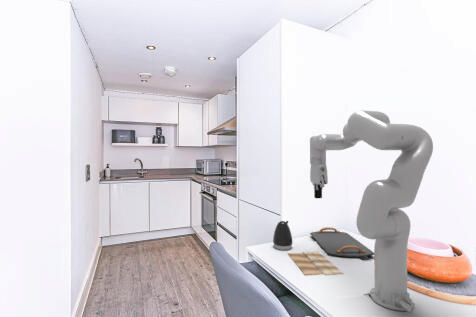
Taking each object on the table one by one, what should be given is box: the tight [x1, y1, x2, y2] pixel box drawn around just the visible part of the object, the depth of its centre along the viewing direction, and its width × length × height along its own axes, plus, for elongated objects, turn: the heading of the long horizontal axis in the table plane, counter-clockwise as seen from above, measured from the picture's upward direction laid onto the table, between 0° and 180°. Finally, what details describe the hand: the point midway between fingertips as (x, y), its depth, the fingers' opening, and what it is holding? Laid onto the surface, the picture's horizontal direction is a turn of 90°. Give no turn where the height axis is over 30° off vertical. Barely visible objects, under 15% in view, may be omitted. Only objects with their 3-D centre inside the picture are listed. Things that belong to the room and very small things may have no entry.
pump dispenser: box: [272, 220, 293, 251], centre depth 129 cm, size 10×10×15 cm
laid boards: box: [302, 251, 344, 276], centre depth 110 cm, size 24×8×1 cm, turn 7°
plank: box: [287, 252, 324, 276], centre depth 109 cm, size 22×8×1 cm, turn 7°
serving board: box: [309, 226, 374, 259], centre depth 133 cm, size 39×23×6 cm, turn 179°
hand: (318, 197), depth 119 cm, fingers closed
